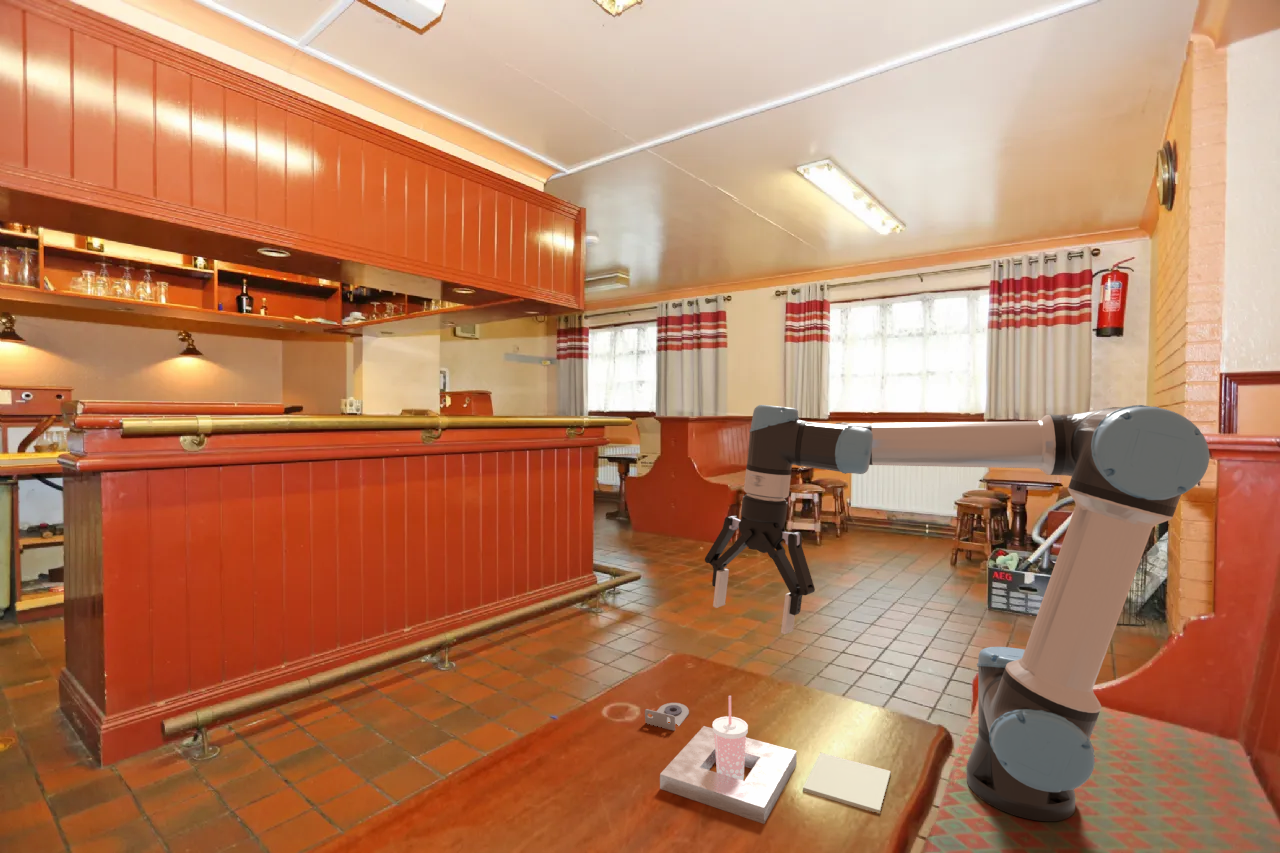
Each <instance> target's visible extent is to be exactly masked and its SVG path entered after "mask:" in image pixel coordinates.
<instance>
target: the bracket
mask: <svg viewBox="0 0 1280 853" xmlns="http://www.w3.org/2000/svg"><path fill="white" fill-rule="evenodd" d="M689 714H690V710H689V708H688V707H687V705H685V704H683V703H680V702H668V703H665V704H663V705H661V706H659V708H658V709H657V710H651V709H648V708H646V709H644V720H645V722H644V723H647V724H646V725H649V724H650V726H653V725H654V727H657V726H658V728H661V727H662V729H665V730H669V731H673V732H675V731H676V724H677V725H678V726H677V727H680V726H681V724H683V722H684V721H685V720H686V719H687V717H688V716H689ZM649 715H651V716H649ZM668 722H670V723H668Z"/></svg>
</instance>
